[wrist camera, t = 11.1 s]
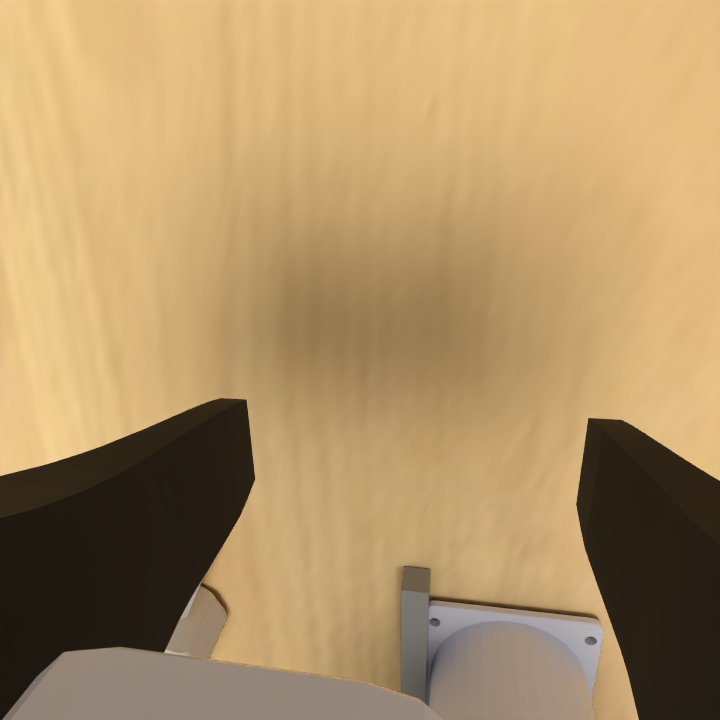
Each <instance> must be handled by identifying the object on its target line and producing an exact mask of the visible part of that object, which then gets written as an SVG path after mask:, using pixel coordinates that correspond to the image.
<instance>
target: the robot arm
mask: <svg viewBox="0 0 720 720" xmlns="http://www.w3.org/2000/svg"><path fill="white" fill-rule="evenodd" d="M254 480H255V473H254V464H253V455H252V446H251V436H250V427H249V418H248V409H247V400H243V399H224V398H220V399H216V400H213V401H210V402H207V403H204V404H202V405H199V406H197V407H194V408H192V409H189V410H187V411H185V412H183V413H180V414H178V415H176V416H173V417H171V418H169V419H167V420H164V421H162V422H160V423H157V424H155V425H153V426H151V427H148V428H146V429H144V430H141V431H139V432H136V433H134V434H131V435H129V436H126V437H124V438H121V439H119V440H116V441H114V442H111V443H109V444H106V445H104V446H101V447H99V448H96V449H93V450H90V451H87V452H84V453H81V454H79V455H75V456H72V457H69V458H66V459H63V460H59V461H56V462H53V463H50V464H46V465H43V466H39V467H35V468H31V469H27V470H23V471H19V472H15V473H11V474H7V475H3V476H0V720H595V717H594V713H593V709H592V704H591V701H592V695H593V689H594V684H595V678H596V673H597V667H598V662H599V656H600V651H601V645H602V640H603V634H604V631H603V627H602V624H601V622H600V621H598V620H597V619H594V618H588V617H579V616H570V615H561V614H552V613H543V612H534V611H525V610H516V609H507V608H498V607H489V606H481V605H472V604H463V603H454V602H445V601H436V600H435V601H429V617H428V652H427V688H426V704H425V703H424V702H422V701H421V700H420V699H418V698H415V697H412V696H409V695H406V694H403V693H400V692H397V691H394V690H391V689H388V688H385V687H382V686H379V685H376V684H373V683H370V682H367V681H363V680H356V679H348V678H341V677H334V676H327V675H320V674H312V673H305V672H298V671H291V670H284V669H276V668H269V667H262V666H255V665H248V664H240V663H233V662H226V661H219V660H212V659H204V658H197V657H190V656H183V655H176V654H168V653H164V652H165V650H166V648H167V646H168V643H169V641H170V639H171V637H172V635H173V633H174V631H175V628H176V626H177V624H178V622H179V620H180V618H181V616H182V614H183V612H184V610H185V608H186V607H187V605H188V603H189V601H190V599H191V597H192V596H193V594H194V592H195V591H196V589H197V588H198V586H199V584H200V583H201V581H202V579H203V578H204V576H205V574H206V573H207V571H208V569H209V568H210V566H211V564H212V563H213V561H214V559H215V558H216V556H217V554H218V553H219V551H220V549H221V548H222V546H223V544H224V543H225V541H226V539H227V538H228V536H229V534H230V532H231V531H232V529H233V527H234V526H235V524H236V522H237V520H238V519H239V517H240V515H241V513H242V510H243V508H244V506H245V503H246V501H247V499H248V496H249V493H250V491H251V488H252V486H253V483H254ZM576 505H577V511H578V516H579V521H580V527H581V532H582V537H583V541H584V546H585V550H586V553H587V556H588V559H589V561H590V564H591V567H592V570H593V573H594V576H595V579H596V582H597V585H598V587H599V590H600V593H601V596H602V599H603V601H604V604H605V607H606V610H607V613H608V615H609V618H610V621H611V624H612V627H613V630H614V632H615V635H616V638H617V641H618V644H619V646H620V649H621V652H622V656H623V659H624V662H625V666H626V669H627V672H628V676H629V680H630V684H631V688H632V692H633V697H634V701H635V705H636V709H637V713H638V717H639V720H720V481H719V480H717V479H716V478H714V477H712V476H711V475H709V474H707V473H706V472H704V471H702V470H701V469H699V468H697V467H696V466H694V465H693V464H691V463H689V462H688V461H686V460H685V459H683V458H682V457H680V456H678V455H677V454H675V453H674V452H672V451H671V450H669V449H668V448H666V447H665V446H663V445H662V444H660V443H659V442H657V441H656V440H654V439H652V438H651V437H649V436H648V435H646V434H645V433H643V432H642V431H640V430H638V429H637V428H635V427H634V426H632V425H630V424H628V423H626V422H624V421H622V420H613V419H594V418H588V426H587V433H586V440H585V447H584V454H583V461H582V468H581V475H580V482H579V489H578V496H577V503H576ZM432 618H436V619H438V620H433V619H432ZM591 636H592V638H587V637H591Z"/></svg>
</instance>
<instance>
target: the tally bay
mask: <svg viewBox="0 0 720 720" xmlns="http://www.w3.org/2000/svg"><path fill="white" fill-rule="evenodd" d="M429 596H430V569H424V568H414V567H404V575H403V582H402V590H401V693H403V694H406V695H409V696H412V697H415V698H418V699H420V700H421V701H422V702H424V703H425V704H426V688H427V652H428V617H429Z"/></svg>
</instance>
